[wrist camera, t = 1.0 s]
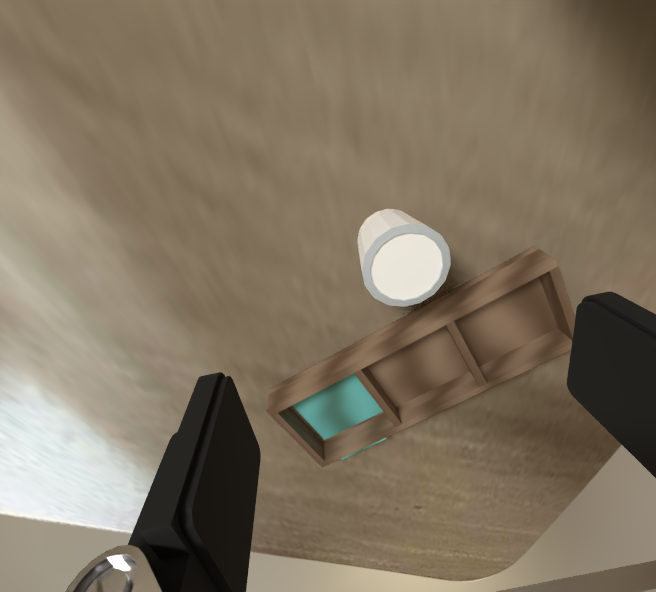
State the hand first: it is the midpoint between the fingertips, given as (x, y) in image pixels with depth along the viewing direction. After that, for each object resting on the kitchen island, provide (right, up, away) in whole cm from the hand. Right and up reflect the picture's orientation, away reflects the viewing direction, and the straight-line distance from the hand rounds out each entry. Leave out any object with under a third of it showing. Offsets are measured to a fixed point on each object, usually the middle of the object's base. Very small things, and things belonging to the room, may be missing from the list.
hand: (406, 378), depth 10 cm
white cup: (+3, +8, +24) cm, 25 cm away
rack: (+7, -5, +30) cm, 32 cm away
